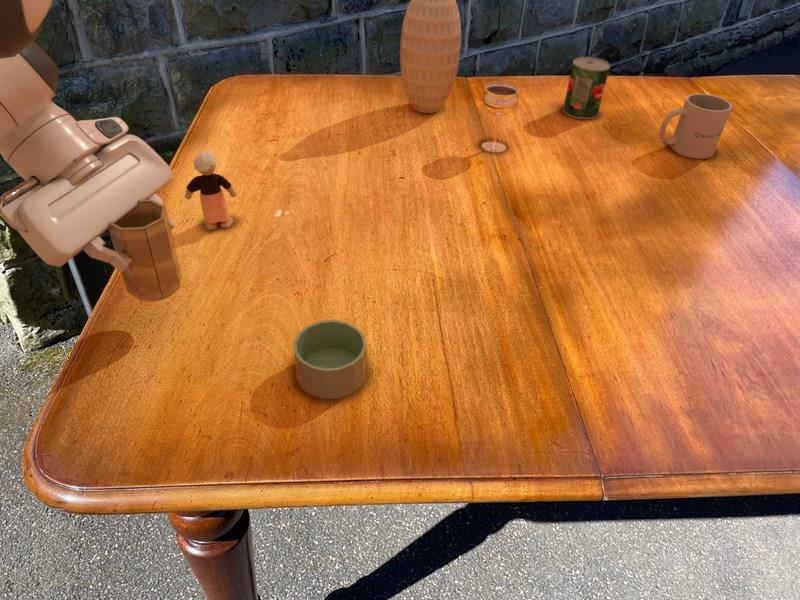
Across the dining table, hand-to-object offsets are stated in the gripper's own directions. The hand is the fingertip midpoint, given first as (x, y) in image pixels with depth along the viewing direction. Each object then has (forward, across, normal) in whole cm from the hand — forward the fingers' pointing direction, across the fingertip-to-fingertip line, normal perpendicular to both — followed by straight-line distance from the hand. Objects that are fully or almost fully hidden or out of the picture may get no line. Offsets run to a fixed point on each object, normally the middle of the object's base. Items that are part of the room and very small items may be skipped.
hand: (149, 248), depth 77 cm
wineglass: (+28, +69, -11) cm, 75 cm away
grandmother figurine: (+4, +22, +14) cm, 26 cm away
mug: (+54, +85, -37) cm, 107 cm away
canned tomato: (+38, +94, -21) cm, 104 cm away
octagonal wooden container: (+4, 0, +5) cm, 6 cm away
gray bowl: (+26, 0, -9) cm, 27 cm away
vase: (+15, +81, +2) cm, 82 cm away
